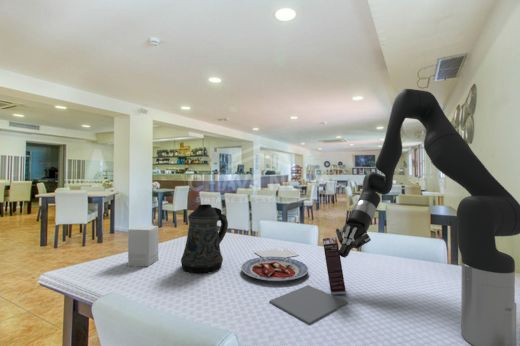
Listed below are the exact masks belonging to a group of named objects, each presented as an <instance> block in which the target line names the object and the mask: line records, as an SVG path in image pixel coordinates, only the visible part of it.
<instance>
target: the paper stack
mask: <svg viewBox="0 0 520 346" xmlns="http://www.w3.org/2000/svg"><path fill="white" fill-rule="evenodd" d="M253 253H254V254H256V255H257V256H260V257H285V258H290V257H291V258H292V257H297V256H298V254H297V253H295V252H293V251H291V250H289V249H286V248H284V249H283V251H281V250H280V251H279V250H278V249H277V248H271V249H264V250H258V251H253Z"/></svg>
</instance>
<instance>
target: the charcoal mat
mask: <svg viewBox="0 0 520 346" xmlns="http://www.w3.org/2000/svg"><path fill="white" fill-rule="evenodd" d="M269 303H270V304H272V305H274V306H276V307H277V308H278V309H280V310H282V311H284V312H285V313H287V314H289V315H291V316H293V317H295V318H296V319H298V320H300V321H301V322H304V323H305V324H307V325H312V324H314V323H315V322H317V321H319V320H321V319H323V318H324V317H326V316H328V315H329V314H331V313H333V312H336V310H338V309H341V308H342V307H344V306H346V305H347V304H349V301H347V300H345V299H343V298H340V297H337V296H336V295H332V294H331V293H329V292H326V291H323V290H321V289H318V288H316V287H313V286H311V285H309V284H308V285H304V286H303V287H300V288H297V289H295V290H292V291H290V292H287V293H284V294H283V295H280V296H278V297H275V298H273V299H271V300H269Z"/></svg>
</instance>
